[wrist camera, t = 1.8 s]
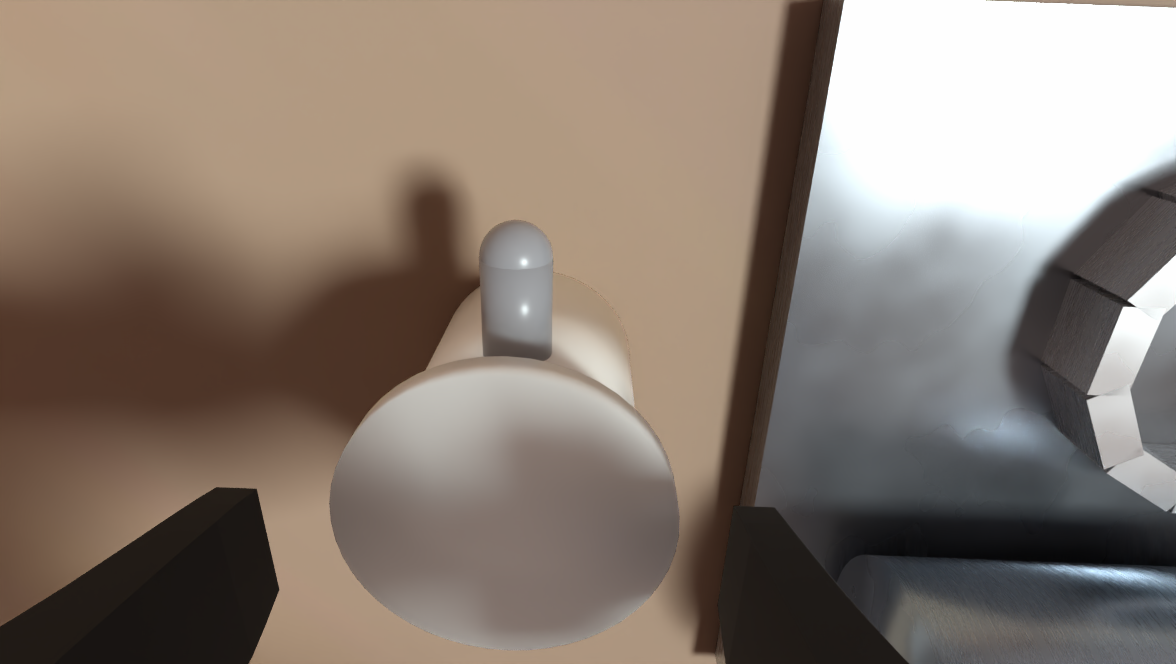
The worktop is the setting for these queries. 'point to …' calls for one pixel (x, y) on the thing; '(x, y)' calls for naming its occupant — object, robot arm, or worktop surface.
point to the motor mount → (983, 330)
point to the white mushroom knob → (511, 468)
